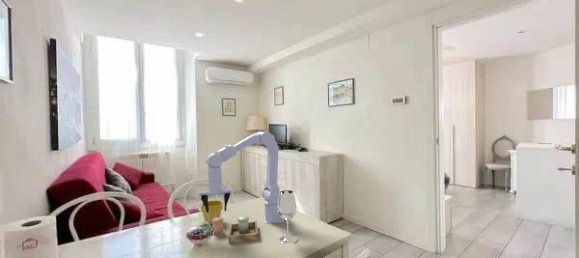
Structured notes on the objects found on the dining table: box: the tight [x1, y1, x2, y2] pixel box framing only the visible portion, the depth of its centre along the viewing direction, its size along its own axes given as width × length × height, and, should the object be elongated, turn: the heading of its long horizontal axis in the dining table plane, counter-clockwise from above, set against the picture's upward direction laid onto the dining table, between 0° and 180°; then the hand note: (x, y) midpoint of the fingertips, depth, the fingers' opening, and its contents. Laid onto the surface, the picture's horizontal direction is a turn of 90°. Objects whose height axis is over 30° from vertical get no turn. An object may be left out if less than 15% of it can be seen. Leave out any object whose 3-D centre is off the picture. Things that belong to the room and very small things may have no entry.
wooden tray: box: [227, 220, 259, 244], centre depth 117 cm, size 12×14×3 cm
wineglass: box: [278, 189, 298, 244], centre depth 110 cm, size 8×8×20 cm
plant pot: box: [200, 199, 224, 226], centre depth 132 cm, size 10×10×10 cm
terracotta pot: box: [212, 216, 224, 235], centre depth 120 cm, size 5×5×6 cm
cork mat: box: [213, 228, 226, 236], centre depth 120 cm, size 7×7×1 cm
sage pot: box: [236, 215, 250, 233], centre depth 120 cm, size 5×5×6 cm
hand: (216, 211), depth 120 cm, fingers open, 7 cm apart
